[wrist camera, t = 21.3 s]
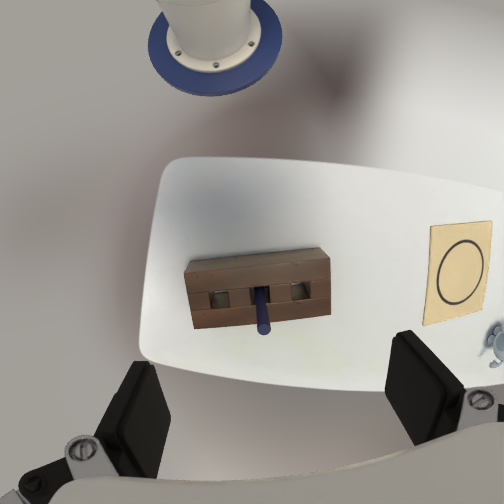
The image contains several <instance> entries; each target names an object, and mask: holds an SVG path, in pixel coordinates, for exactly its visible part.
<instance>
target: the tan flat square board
mask: <svg viewBox="0 0 504 504" xmlns="http://www.w3.org/2000/svg"><path fill="white" fill-rule="evenodd" d="M491 238H492V221H484V222H473V223H461V224H450V225H439V226H430V254H429V270H428V282H427V292H426V301H425V309H424V317H423V324H422V325H423V326H426V325H430V324H434V323H437V322H441V321H445V320H449V319H452V318H456V317H460V316H463V315H466V314H470V313H473V312H476V311H480V310H482V307H483V302H484V296H485V290H486V284H487V277H488V269H489V260H490V250H491Z"/></svg>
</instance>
